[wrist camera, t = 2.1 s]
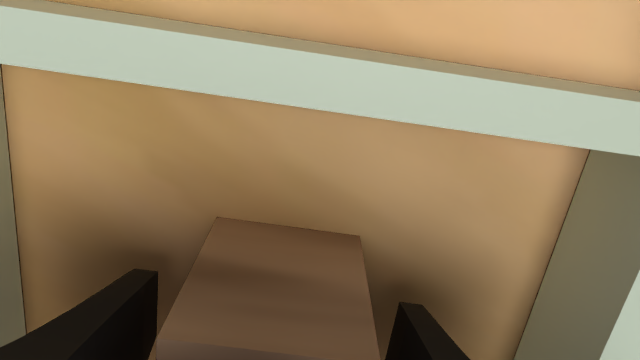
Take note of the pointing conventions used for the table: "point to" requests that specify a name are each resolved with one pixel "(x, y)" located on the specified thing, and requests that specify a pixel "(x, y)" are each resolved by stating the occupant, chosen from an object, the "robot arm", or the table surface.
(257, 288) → the block
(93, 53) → the green rectangular frame
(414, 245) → the table surface
